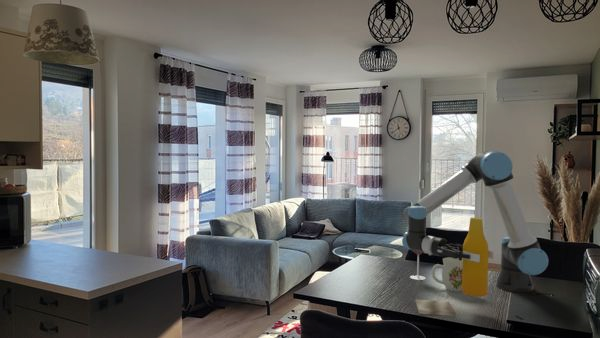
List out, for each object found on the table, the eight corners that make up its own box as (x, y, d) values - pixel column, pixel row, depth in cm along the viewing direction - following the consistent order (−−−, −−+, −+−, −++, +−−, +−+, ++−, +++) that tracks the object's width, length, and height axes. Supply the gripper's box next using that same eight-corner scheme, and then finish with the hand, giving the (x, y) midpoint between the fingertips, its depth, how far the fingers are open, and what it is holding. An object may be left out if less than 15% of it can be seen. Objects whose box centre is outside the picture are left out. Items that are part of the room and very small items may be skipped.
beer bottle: (461, 295, 163) (463, 219, 162) (461, 288, 172) (463, 215, 171) (488, 298, 160) (490, 220, 159) (486, 291, 169) (488, 217, 168)
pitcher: (428, 284, 199) (429, 255, 199) (468, 286, 198) (469, 256, 198) (434, 292, 188) (435, 261, 188) (476, 293, 187) (477, 262, 187)
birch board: (448, 305, 172) (448, 301, 172) (455, 316, 160) (455, 312, 160) (415, 303, 174) (415, 299, 174) (419, 313, 162) (419, 309, 162)
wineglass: (427, 280, 206) (428, 238, 206) (409, 279, 208) (409, 238, 207) (426, 276, 214) (427, 235, 213) (408, 274, 216) (409, 235, 215)
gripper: (451, 251, 186) (501, 262, 168) (418, 258, 173) (469, 271, 155) (451, 234, 186) (501, 243, 168) (419, 240, 173) (470, 250, 155)
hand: (486, 256), depth 162 cm, fingers closed on beer bottle, 9 cm apart
